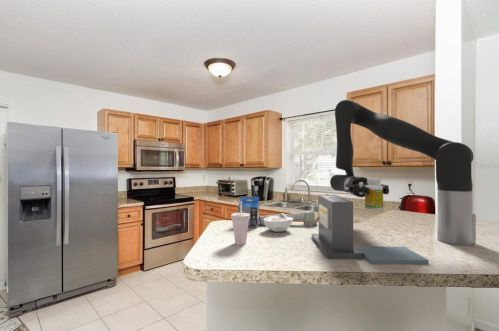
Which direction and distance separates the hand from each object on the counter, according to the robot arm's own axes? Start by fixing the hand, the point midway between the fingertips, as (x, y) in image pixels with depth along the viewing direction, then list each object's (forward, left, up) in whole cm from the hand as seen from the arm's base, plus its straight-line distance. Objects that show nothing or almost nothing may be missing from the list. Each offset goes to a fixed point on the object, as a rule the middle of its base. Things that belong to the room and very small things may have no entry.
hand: (377, 191), depth 81 cm
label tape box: (+42, -28, -18) cm, 53 cm away
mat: (+1, +8, -18) cm, 20 cm away
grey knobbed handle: (+25, -30, -18) cm, 43 cm away
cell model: (+30, -20, -18) cm, 40 cm away
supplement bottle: (0, -3, -6) cm, 7 cm away
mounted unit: (+14, 0, -18) cm, 22 cm away
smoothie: (+44, -4, -18) cm, 48 cm away
